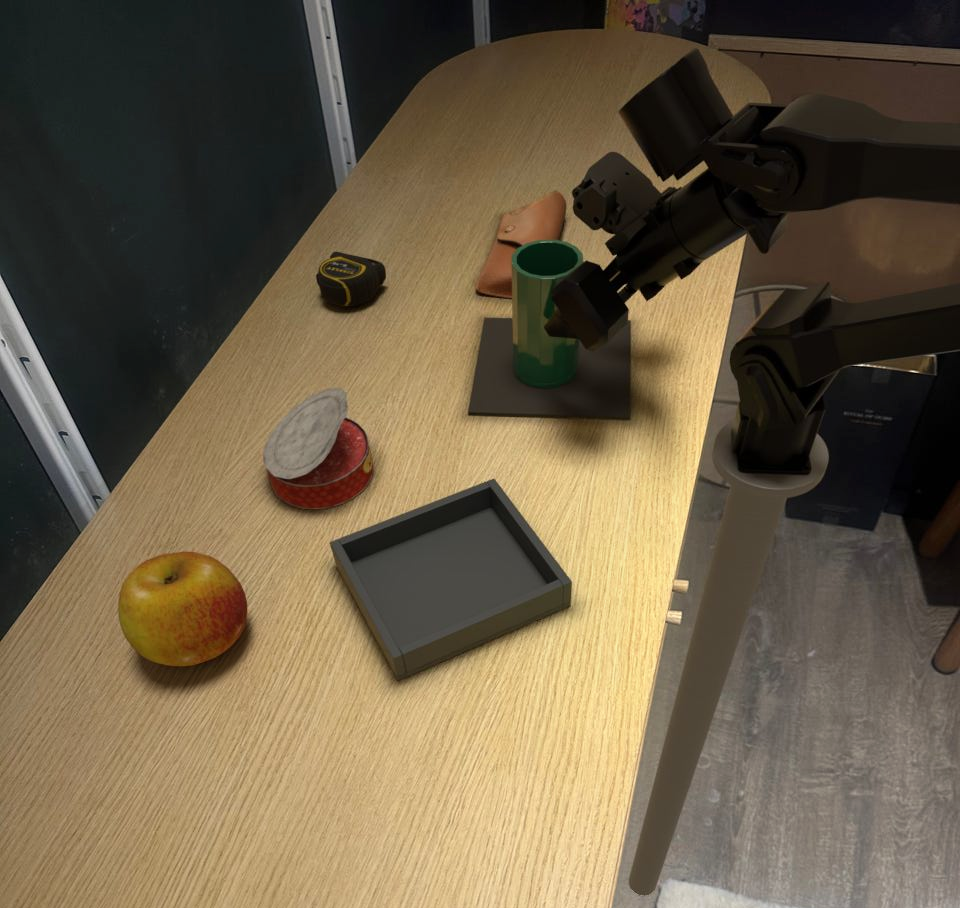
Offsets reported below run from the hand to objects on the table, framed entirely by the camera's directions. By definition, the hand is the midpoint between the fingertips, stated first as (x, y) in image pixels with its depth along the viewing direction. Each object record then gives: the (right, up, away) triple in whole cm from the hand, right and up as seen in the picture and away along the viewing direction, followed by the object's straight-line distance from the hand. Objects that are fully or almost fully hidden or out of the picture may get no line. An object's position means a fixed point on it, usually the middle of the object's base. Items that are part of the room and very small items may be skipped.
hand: (573, 306), depth 82 cm
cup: (-2, -4, +6) cm, 8 cm away
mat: (-1, -3, +7) cm, 8 cm away
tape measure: (-24, +8, +17) cm, 31 cm away
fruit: (-32, -32, -11) cm, 47 cm away
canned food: (-24, -16, 0) cm, 29 cm away
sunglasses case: (-4, +14, +20) cm, 24 cm away
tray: (-12, -27, -10) cm, 31 cm away
